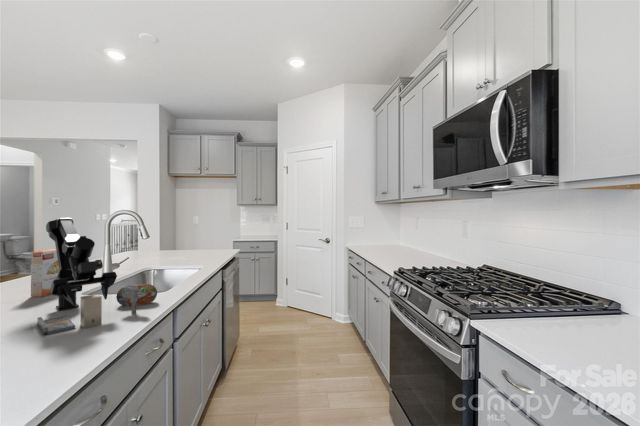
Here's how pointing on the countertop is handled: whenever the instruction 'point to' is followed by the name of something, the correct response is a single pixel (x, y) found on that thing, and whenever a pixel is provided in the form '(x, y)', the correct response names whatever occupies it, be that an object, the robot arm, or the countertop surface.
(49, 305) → the countertop surface
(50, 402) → the countertop surface
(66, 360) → the countertop surface
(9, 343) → the countertop surface
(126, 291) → the grey t-shaped piece
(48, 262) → the cracker box
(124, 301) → the tin
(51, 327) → the plate
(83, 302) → the block
